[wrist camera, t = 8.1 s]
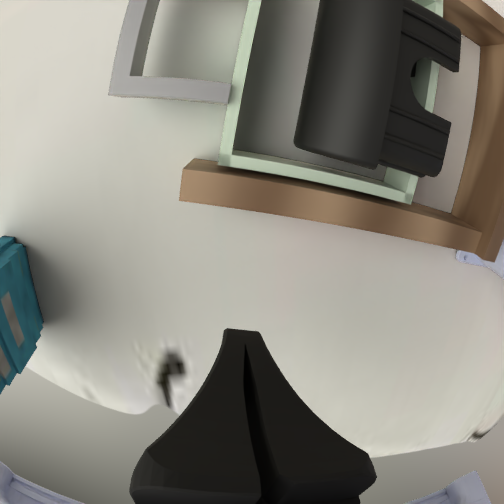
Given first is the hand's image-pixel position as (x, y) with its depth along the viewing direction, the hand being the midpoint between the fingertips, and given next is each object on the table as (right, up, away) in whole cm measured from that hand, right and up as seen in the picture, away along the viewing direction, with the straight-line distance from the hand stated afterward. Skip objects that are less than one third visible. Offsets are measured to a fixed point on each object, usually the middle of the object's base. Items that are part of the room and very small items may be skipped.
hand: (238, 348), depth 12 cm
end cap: (+7, +15, +4) cm, 17 cm away
